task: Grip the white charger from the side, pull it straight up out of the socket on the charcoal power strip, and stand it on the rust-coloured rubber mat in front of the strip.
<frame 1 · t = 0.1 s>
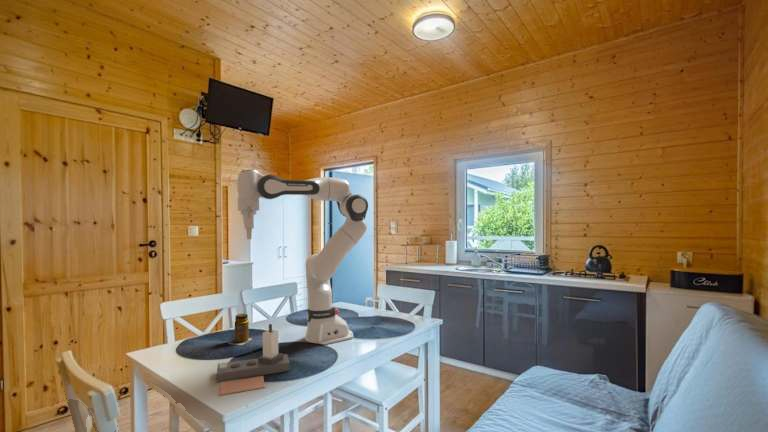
hand: (249, 238, 159), 48 cm above the table, tool pointing down, fingers open, 8 cm apart
power strip: (254, 371, 136), on the table
charger: (270, 360, 138), point 3 cm above the table, touching power strip
mat: (242, 385, 125), on the table
condiment: (240, 341, 168), on the table
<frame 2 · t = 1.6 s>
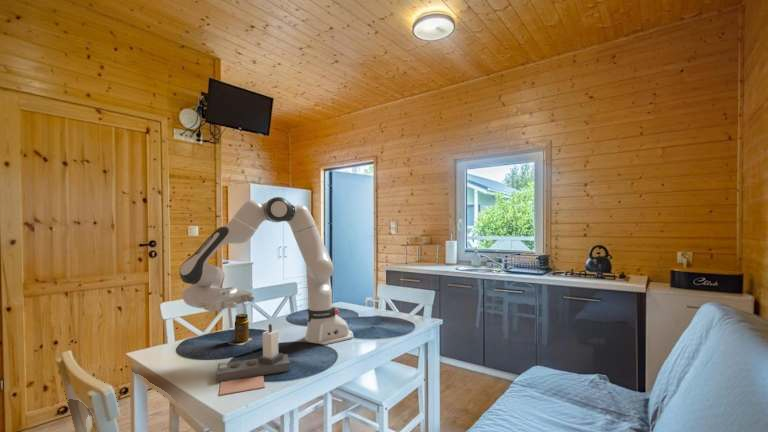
hand: (244, 302, 142), 24 cm above the table, tool horizontal, fingers open, 8 cm apart
nothing on the table moved.
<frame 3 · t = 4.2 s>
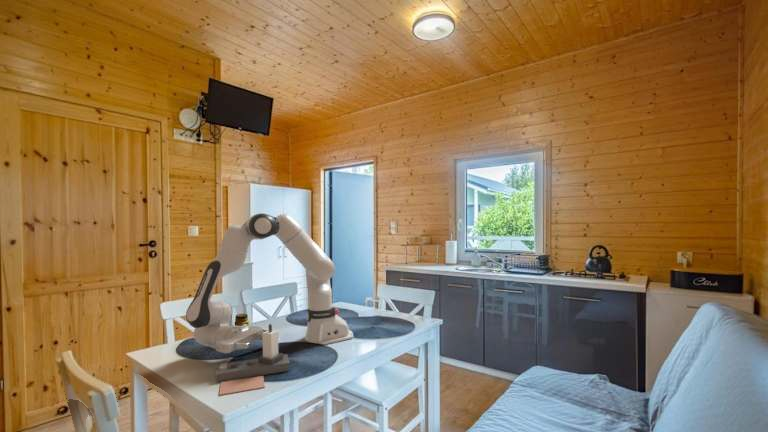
hand: (256, 341, 141), 9 cm above the table, tool horizontal, fingers open, 8 cm apart
nothing on the table moved.
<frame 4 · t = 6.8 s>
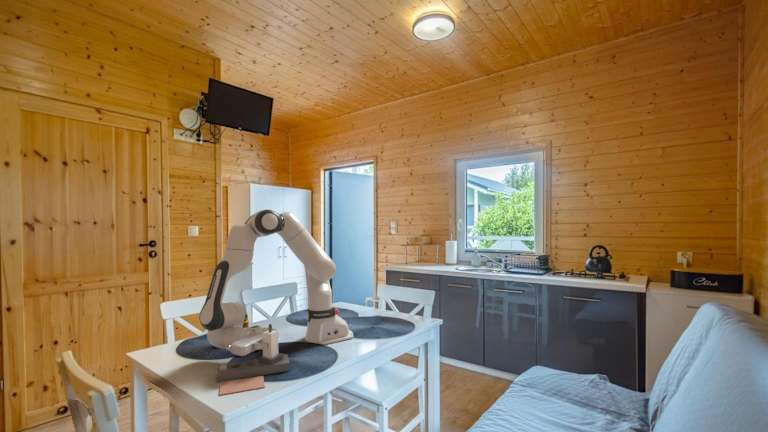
hand: (272, 343, 138), 10 cm above the table, tool horizontal, fingers closed on charger, 4 cm apart
charger: (270, 360, 138), point 3 cm above the table, touching gripper, power strip
everything else where it was.
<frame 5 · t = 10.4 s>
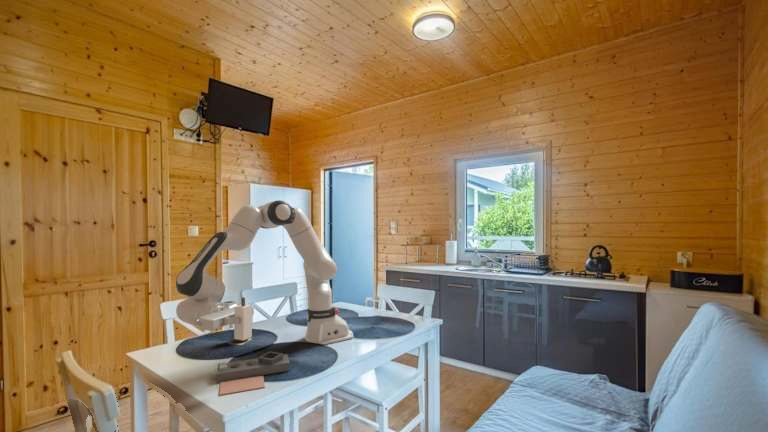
hand: (245, 319, 126), 23 cm above the table, tool horizontal, fingers closed on charger, 4 cm apart
charger: (243, 337, 126), point 16 cm above the table, touching gripper
everything else where it was.
when the fingers open (8 cm above the table, at t = 14.3 s): charger drops 1 cm, resting on mat.
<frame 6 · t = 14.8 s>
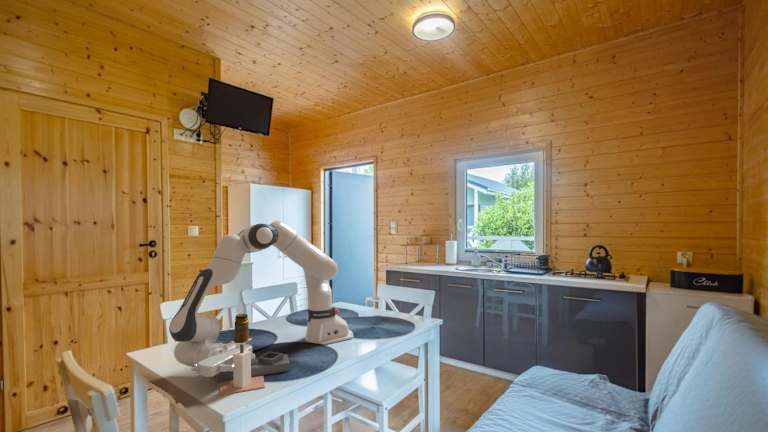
hand: (244, 362, 124), 8 cm above the table, tool horizontal, fingers open, 8 cm apart
charger: (242, 384, 125), resting on mat
everything else where it was.
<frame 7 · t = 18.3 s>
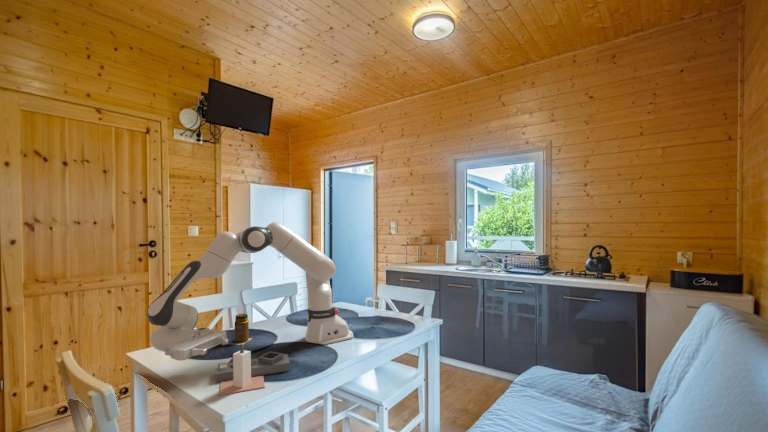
hand: (216, 346, 129), 12 cm above the table, tool horizontal, fingers open, 8 cm apart
nothing on the table moved.
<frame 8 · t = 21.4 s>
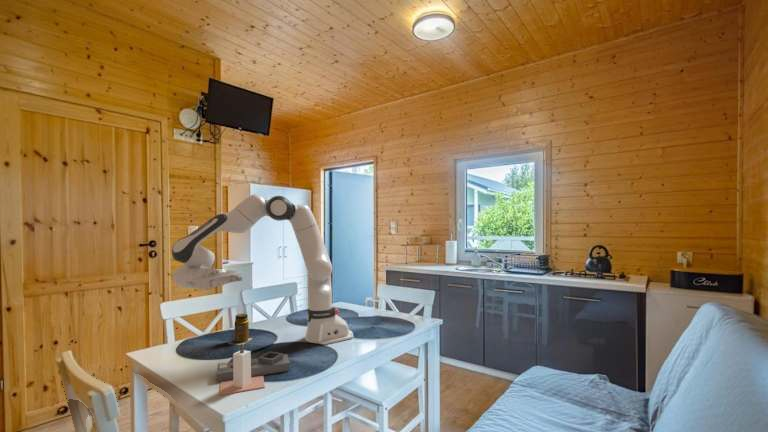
hand: (232, 281, 146), 32 cm above the table, tool horizontal, fingers open, 8 cm apart
nothing on the table moved.
at the end: charger inside the target area (0.0 cm from its centre), resting on mat; charger tilted 0°; the gripper is holding nothing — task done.
